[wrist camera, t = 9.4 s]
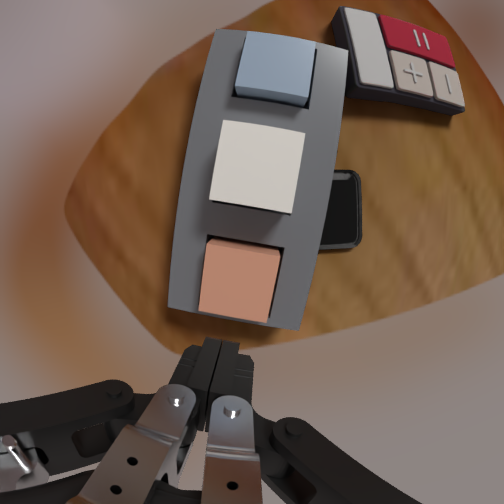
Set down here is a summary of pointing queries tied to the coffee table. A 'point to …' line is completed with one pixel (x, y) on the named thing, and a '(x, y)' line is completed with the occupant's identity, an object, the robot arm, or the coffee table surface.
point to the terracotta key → (238, 278)
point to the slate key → (275, 69)
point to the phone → (343, 212)
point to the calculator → (397, 62)
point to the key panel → (248, 217)
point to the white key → (257, 166)
